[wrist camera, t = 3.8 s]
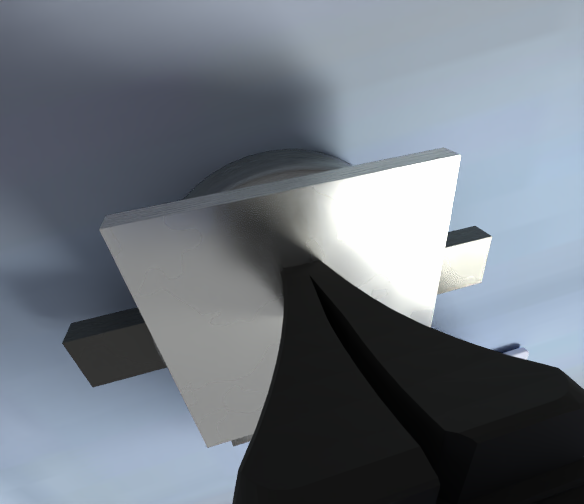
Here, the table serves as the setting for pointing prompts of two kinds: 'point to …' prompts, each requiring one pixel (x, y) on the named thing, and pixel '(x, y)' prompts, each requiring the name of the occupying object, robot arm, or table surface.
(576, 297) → the table surface
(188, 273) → the lid
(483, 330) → the table surface
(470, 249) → the pot
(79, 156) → the table surface
